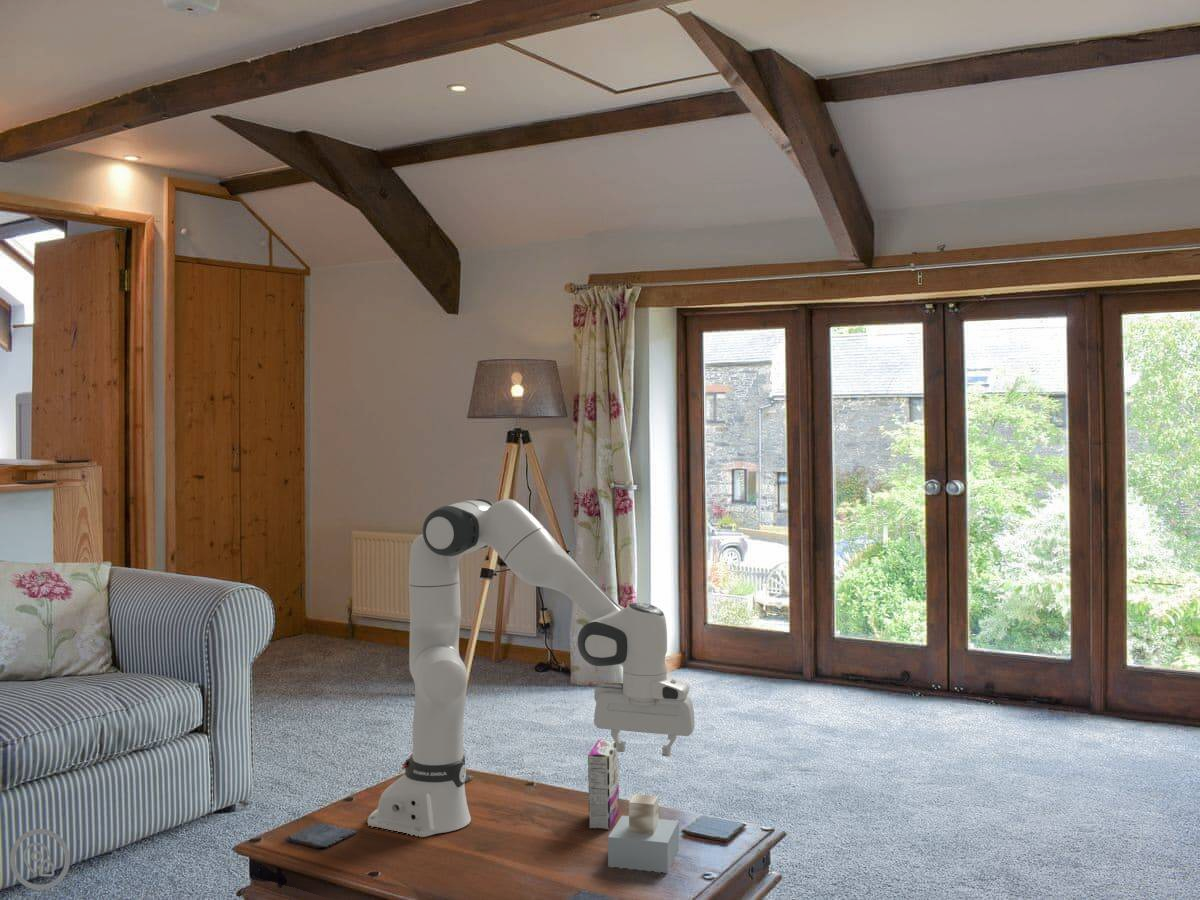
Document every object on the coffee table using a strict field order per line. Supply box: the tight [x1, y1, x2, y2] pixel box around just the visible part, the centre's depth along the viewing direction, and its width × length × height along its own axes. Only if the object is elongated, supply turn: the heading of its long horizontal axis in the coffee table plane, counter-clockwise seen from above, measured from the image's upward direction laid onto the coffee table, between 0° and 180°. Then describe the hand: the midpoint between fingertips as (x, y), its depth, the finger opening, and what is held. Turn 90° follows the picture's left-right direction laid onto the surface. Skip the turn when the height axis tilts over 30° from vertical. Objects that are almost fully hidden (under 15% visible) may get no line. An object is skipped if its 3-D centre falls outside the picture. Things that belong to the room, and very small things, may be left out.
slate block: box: [607, 815, 680, 874], centre depth 219 cm, size 12×12×6 cm
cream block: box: [628, 793, 660, 834], centre depth 219 cm, size 5×5×6 cm
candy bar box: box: [587, 739, 620, 831], centre depth 240 cm, size 11×5×16 cm, turn 168°
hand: (643, 753), depth 219 cm, fingers open, 8 cm apart
